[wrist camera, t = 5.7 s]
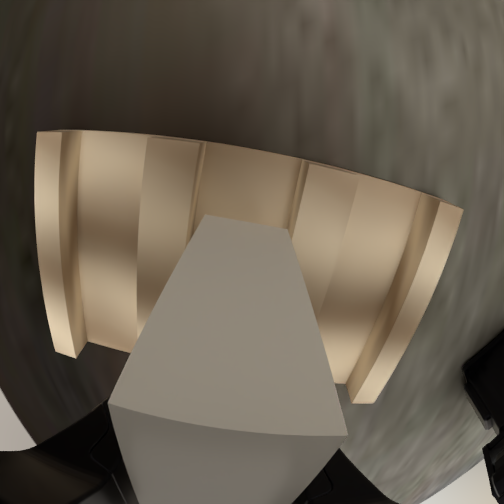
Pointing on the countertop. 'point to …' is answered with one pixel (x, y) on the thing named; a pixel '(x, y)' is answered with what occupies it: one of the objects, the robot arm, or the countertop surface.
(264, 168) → the slotted rack
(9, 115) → the countertop surface
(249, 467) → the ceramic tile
